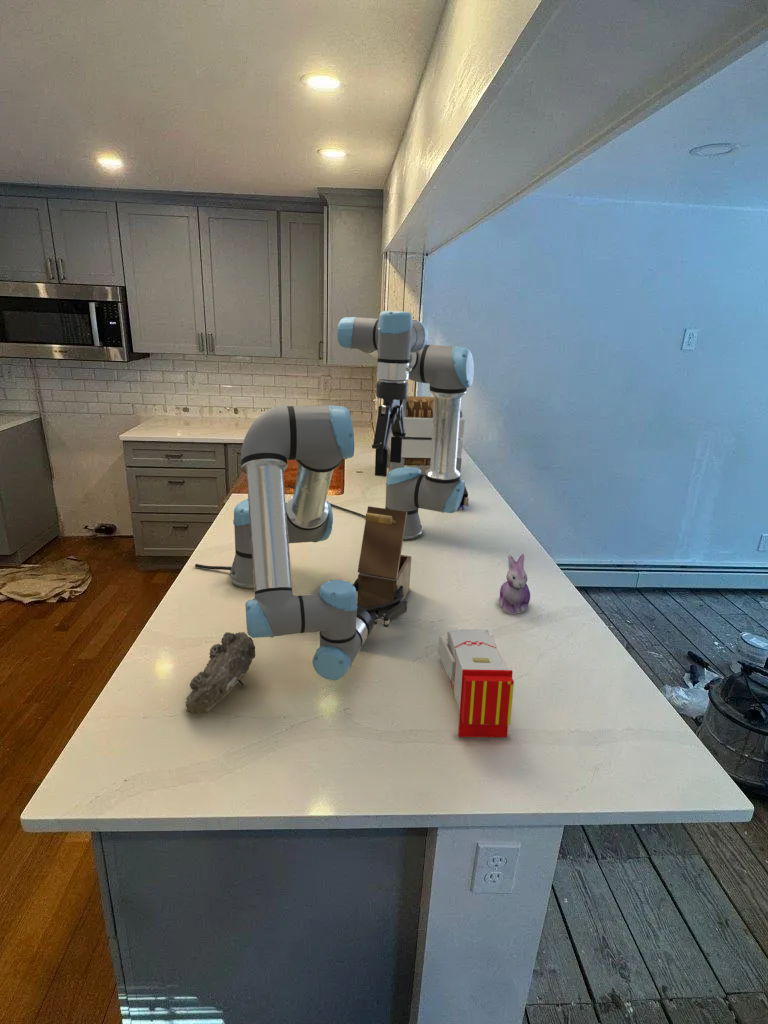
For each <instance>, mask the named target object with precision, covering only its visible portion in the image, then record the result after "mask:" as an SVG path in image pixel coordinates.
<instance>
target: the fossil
mask: <svg viewBox="0 0 768 1024" xmlns="http://www.w3.org/2000/svg"><path fill="white" fill-rule="evenodd" d="M220 642H221V644H220V643H216V644H213V645H212V646H210V649H209V652H208V653H209V654H208V655H209V660H208V662H207V663H206V666H205V668H204V670H203V671H200V672H198V673H197V675H194V676H193V678H192V679H191V682H190V683H189V688H190V690H191V691H190V693H189V695H188V696H186V699H185V700H186V701H185V707H186V712H190V713H192V714H193V715H194V714H195V715H196V714H200V713H205V712H206V713H207V712H209V711H211V710H212V709H213V708H214V707H215V706H216V705H217V704H219V703H220V702H221V701H222V699H223V698H225V697H226V696H227V695H228V694H229V693H230V692H232V689H233V688H234V686H235V685H236V684H240V685H241V686H242V687H244V686H245V683H244V682H243V681H242V680H241V677H242V675H245V674H246V673H247V671H249V669H250V667H251V664H252V663H253V660H254V659H255V658H256V645H255V643H254V640H253V638H252V637H250V636H249V635H248V633H246V632H245V631H242V632H240V631H239V632H236V633H234V632H233V633H232V632H229V631H228V632H224V634H223V635H222V637H221V641H220Z"/></svg>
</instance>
